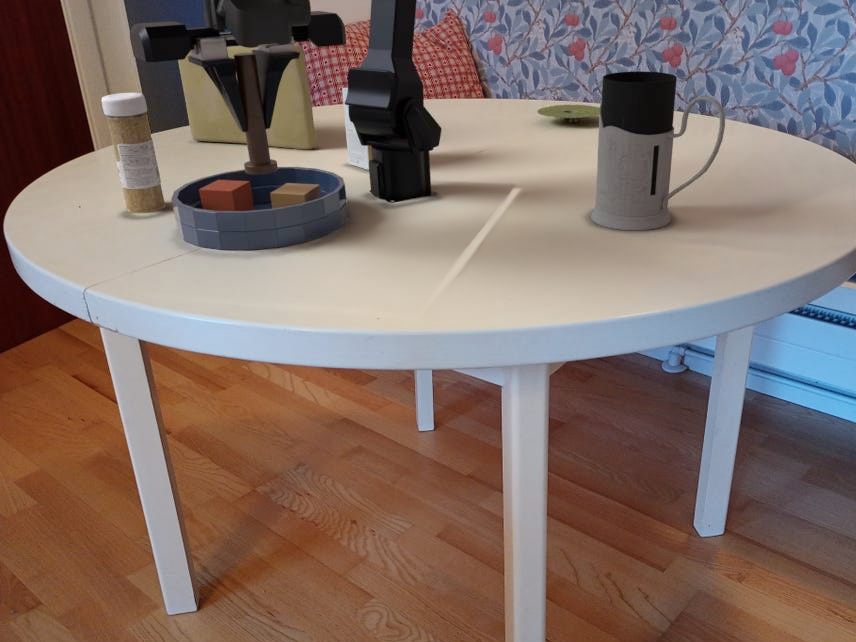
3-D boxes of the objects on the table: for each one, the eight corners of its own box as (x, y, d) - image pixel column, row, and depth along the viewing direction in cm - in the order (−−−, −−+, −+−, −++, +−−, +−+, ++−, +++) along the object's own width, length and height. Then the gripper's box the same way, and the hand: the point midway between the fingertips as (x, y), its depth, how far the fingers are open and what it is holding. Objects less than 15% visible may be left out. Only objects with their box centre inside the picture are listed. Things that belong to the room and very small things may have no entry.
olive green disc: (611, 117, 141) (612, 105, 140) (593, 130, 132) (594, 118, 131) (549, 114, 145) (549, 102, 144) (527, 127, 136) (527, 115, 135)
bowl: (314, 195, 102) (310, 159, 100) (374, 234, 88) (370, 193, 86) (164, 221, 94) (156, 182, 92) (203, 268, 80) (195, 224, 78)
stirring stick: (271, 165, 84) (255, 51, 79) (282, 171, 81) (266, 54, 76) (240, 170, 82) (222, 54, 77) (251, 176, 80) (232, 57, 75)
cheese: (335, 142, 129) (325, 40, 122) (292, 156, 121) (278, 48, 114) (235, 130, 139) (220, 35, 132) (190, 141, 132) (171, 42, 125)
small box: (369, 172, 112) (362, 92, 107) (347, 164, 116) (340, 87, 111) (417, 161, 116) (412, 84, 112) (394, 155, 120) (389, 80, 115)
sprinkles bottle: (133, 207, 99) (107, 92, 93) (171, 205, 100) (148, 90, 94) (122, 218, 95) (94, 99, 89) (162, 216, 96) (137, 97, 90)
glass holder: (618, 201, 97) (626, 68, 90) (730, 224, 88) (748, 79, 81) (575, 220, 91) (579, 78, 84) (691, 246, 82) (706, 91, 76)
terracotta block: (223, 213, 94) (217, 179, 92) (255, 215, 93) (250, 181, 91) (205, 224, 91) (198, 189, 89) (237, 226, 90) (231, 190, 88)
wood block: (291, 217, 92) (286, 182, 90) (324, 219, 91) (320, 184, 89) (275, 229, 89) (269, 192, 87) (309, 231, 88) (304, 194, 86)
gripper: (139, -45, 62) (178, 160, 70) (362, -53, 71) (377, 130, 78) (111, -46, 71) (149, 137, 78) (314, -52, 79) (331, 113, 87)
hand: (255, 129), depth 80 cm, fingers closed on stirring stick, 2 cm apart
